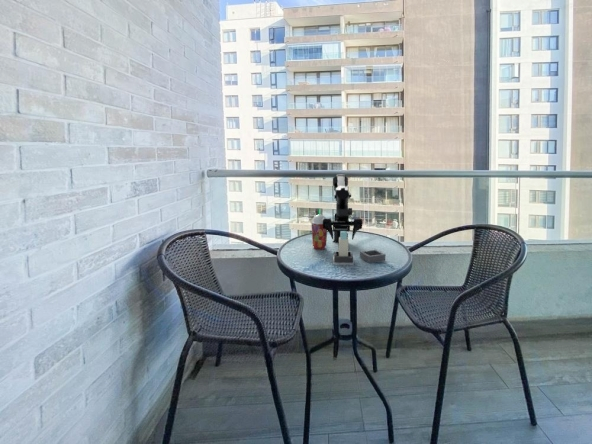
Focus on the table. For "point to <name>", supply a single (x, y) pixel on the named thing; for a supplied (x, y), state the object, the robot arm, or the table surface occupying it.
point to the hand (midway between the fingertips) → (342, 239)
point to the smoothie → (318, 232)
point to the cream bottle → (343, 244)
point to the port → (343, 259)
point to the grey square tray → (372, 256)
